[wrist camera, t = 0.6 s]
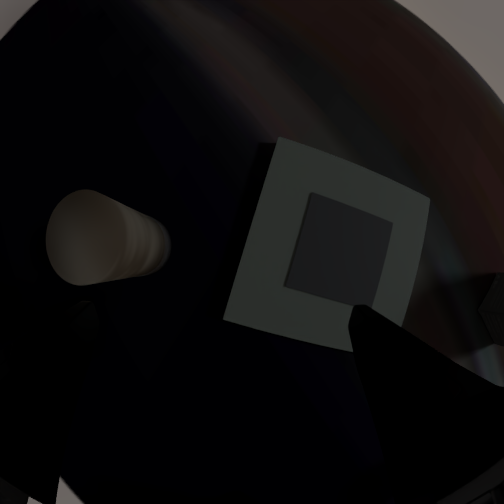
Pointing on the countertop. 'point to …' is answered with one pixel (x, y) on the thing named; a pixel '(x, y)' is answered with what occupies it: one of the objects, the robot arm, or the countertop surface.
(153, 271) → the ash sleeve
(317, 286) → the sage board
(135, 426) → the countertop surface
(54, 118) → the countertop surface
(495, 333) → the skincare box
